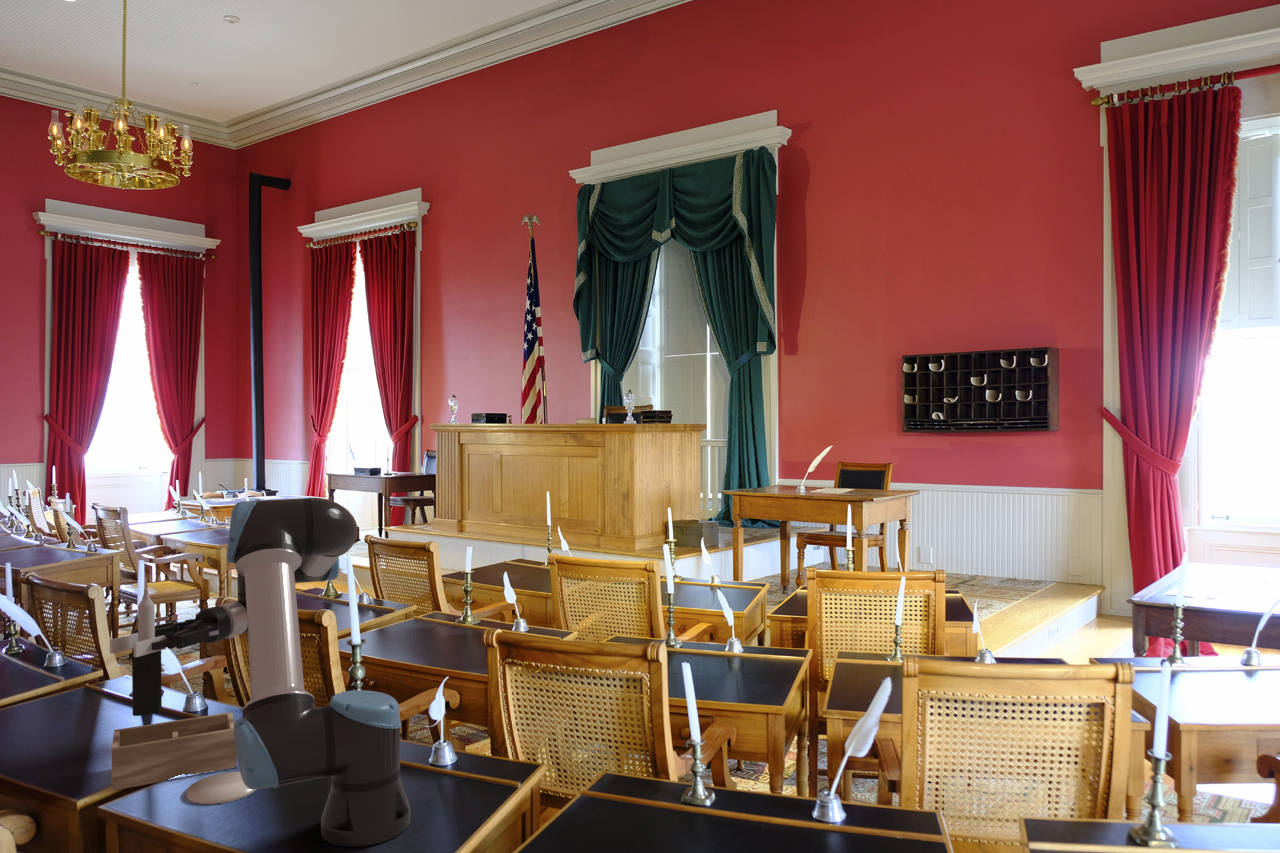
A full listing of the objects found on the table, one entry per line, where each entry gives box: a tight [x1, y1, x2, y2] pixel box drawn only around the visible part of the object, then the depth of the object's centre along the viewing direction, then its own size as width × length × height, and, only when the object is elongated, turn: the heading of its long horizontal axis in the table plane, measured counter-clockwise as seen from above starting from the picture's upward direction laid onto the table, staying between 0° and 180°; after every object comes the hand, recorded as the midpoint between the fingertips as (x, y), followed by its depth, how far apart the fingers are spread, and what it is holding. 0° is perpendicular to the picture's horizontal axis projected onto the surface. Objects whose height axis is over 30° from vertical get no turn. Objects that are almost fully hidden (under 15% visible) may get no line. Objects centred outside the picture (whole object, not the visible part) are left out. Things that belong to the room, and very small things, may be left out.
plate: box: [185, 771, 258, 805], centre depth 168 cm, size 13×13×1 cm
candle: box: [131, 587, 163, 717], centre depth 176 cm, size 5×5×25 cm
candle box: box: [111, 711, 238, 792], centre depth 178 cm, size 12×22×8 cm, turn 119°
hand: (123, 648), depth 171 cm, fingers closed on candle, 6 cm apart
